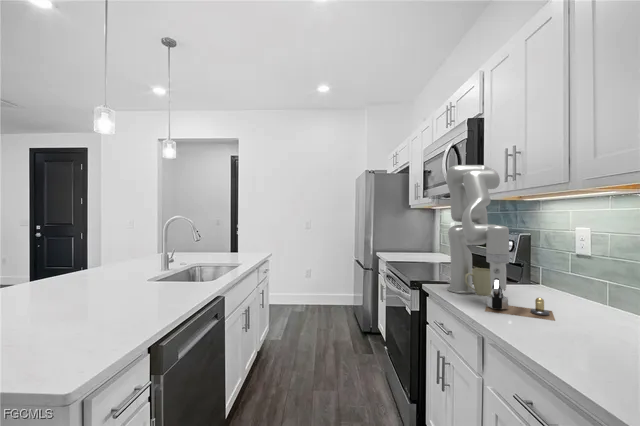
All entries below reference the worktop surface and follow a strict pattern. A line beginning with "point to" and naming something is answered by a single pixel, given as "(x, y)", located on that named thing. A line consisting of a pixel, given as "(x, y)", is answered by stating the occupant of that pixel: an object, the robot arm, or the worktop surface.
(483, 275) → the mug
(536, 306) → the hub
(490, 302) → the white octagonal block
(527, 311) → the base board
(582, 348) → the worktop surface
